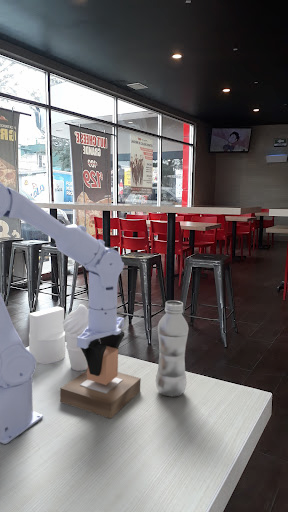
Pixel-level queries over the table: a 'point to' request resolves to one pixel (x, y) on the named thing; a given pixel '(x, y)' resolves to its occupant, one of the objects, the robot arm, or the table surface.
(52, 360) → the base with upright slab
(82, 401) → the walnut pedestal
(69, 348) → the soft serve ice cream cone
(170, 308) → the plastic bottle
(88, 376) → the terracotta cube
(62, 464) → the table surface
